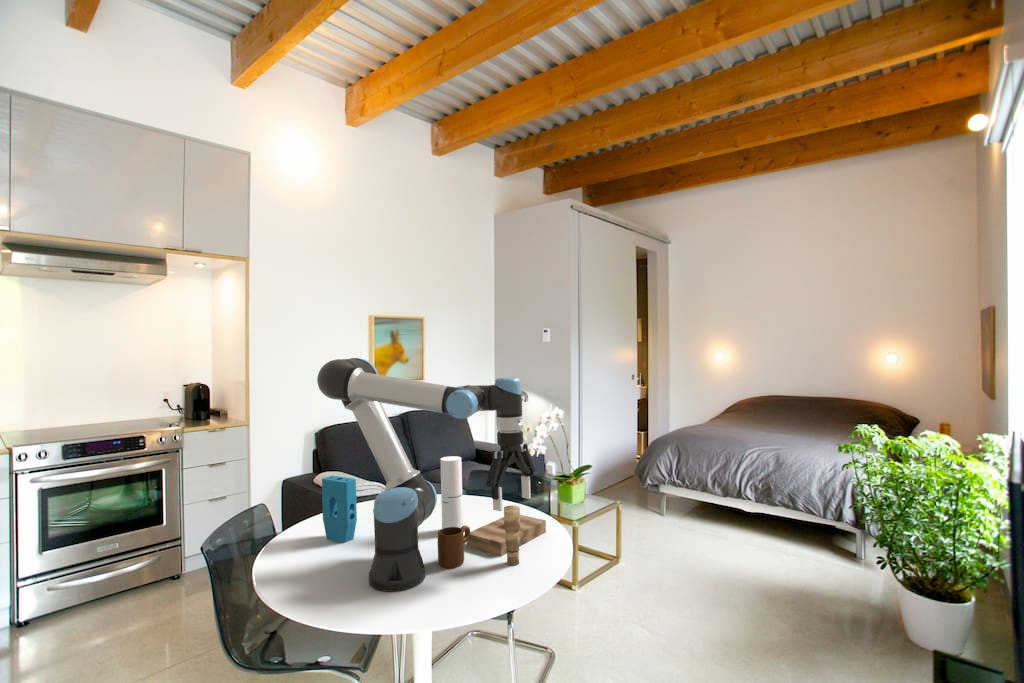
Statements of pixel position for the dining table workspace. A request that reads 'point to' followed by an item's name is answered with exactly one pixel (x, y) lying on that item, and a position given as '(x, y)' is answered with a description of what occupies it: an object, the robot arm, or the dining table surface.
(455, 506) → the cylindrical container
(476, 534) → the seat board
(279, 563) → the dining table surface
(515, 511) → the oak peg
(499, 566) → the dining table surface
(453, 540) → the mug
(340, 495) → the block
